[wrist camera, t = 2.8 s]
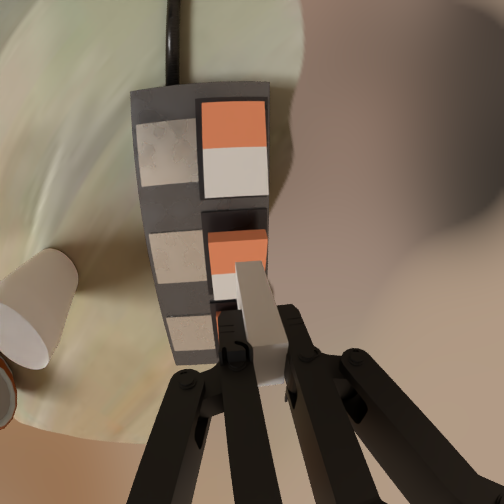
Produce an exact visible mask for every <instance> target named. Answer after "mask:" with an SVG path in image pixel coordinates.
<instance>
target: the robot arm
mask: <svg viewBox="0 0 504 504" xmlns="http://www.w3.org/2000/svg"><path fill="white" fill-rule="evenodd" d="M235 271H236V294H237V305H238V310H229V311H221V313H220V314H219V316H218V335H219V351H218V354H219V361H218V363H217V364H216V366H214V367H213V368H212V369H209V370H207V371H204V372H201V373H199V372H198V371H196V370H193V369H184V370H180V371H178V372H177V373H175V374H174V375H173V376H172V378H171V380H170V382H169V385H168V388H167V390H166V393H165V396H164V398H163V401H162V404H161V406H160V409H159V412H158V414H157V417H156V420H155V423H154V425H153V428H152V431H151V434H150V436H149V439H148V442H147V445H146V448H145V451H144V454H143V456H142V459H141V462H140V465H139V468H138V471H137V473H136V476H135V479H134V482H133V485H132V488H131V491H130V494H129V497H128V500H127V503H126V504H191V503H192V498H193V494H194V490H195V485H196V482H197V477H198V473H199V469H200V464H201V460H202V456H203V451H204V447H205V443H206V438H207V435H208V430H209V426H210V421H211V417H212V416H214V415H217V414H220V413H223V412H224V416H225V426H226V436H227V445H228V454H229V463H230V471H231V479H232V486H233V494H234V501H235V504H282V500H281V495H280V491H279V486H278V482H277V477H276V472H275V468H274V463H273V458H272V453H271V449H270V444H269V439H268V434H267V429H266V425H265V419H264V415H263V410H262V404H261V399H260V394H259V389H258V387H260V386H267V385H276V384H283V383H284V377H285V381H286V384H287V386H286V393H285V402H287V400H288V402H289V405H290V409H291V413H292V417H293V420H294V424H295V428H296V432H297V435H298V439H299V443H300V447H301V450H302V454H303V458H304V461H305V465H306V469H307V473H308V476H309V480H310V484H311V487H312V491H313V495H314V499H315V502H316V504H387V503H385V502H383V501H382V500H381V499H380V497H379V494H378V492H377V489H376V486H375V484H374V481H373V478H372V476H371V473H370V471H369V468H368V466H367V463H366V460H365V458H364V455H363V453H362V450H361V447H360V445H359V442H358V440H357V437H356V435H355V432H356V434H357V435H358V436H359V438H360V439H361V440H362V442H363V443H364V444H365V446H366V447H367V448H368V450H369V451H370V452H371V454H372V455H373V456H374V458H375V459H376V460H377V462H378V463H379V464H380V466H381V467H382V468H383V469H384V471H385V472H386V473H387V475H388V476H389V477H390V479H391V480H392V481H393V482H394V484H395V485H396V486H397V488H398V489H399V490H400V491H401V493H402V494H403V495H404V497H405V498H406V499H407V500H408V501H409V503H410V504H504V486H502V485H500V484H498V483H495V482H493V481H491V480H489V479H486V478H484V477H482V476H480V475H478V474H477V473H476V472H475V471H474V469H473V468H472V467H471V466H470V465H469V464H468V463H467V461H466V460H465V459H464V458H463V457H462V456H461V455H460V454H459V453H458V451H457V450H456V449H455V448H454V447H453V446H452V445H451V443H449V441H448V440H447V439H446V438H445V437H444V436H443V435H442V434H441V433H440V431H439V430H438V429H437V428H436V427H435V426H434V425H433V423H432V422H431V421H430V420H429V419H428V418H427V417H426V416H425V415H424V414H423V413H422V411H421V410H420V409H419V408H418V407H417V406H416V405H415V404H414V403H413V402H412V400H410V398H409V397H408V396H407V395H406V394H405V393H404V392H403V391H402V390H401V388H400V387H399V386H398V385H397V384H396V383H395V382H394V381H393V380H392V379H391V378H390V377H389V376H388V374H387V373H386V372H385V371H384V370H383V369H382V368H381V367H380V366H379V365H378V364H377V363H376V362H375V360H373V358H372V357H371V356H370V355H369V354H368V353H367V352H365V351H364V350H361V349H358V348H352V349H348V350H346V351H345V352H343V354H342V356H337V355H327V354H324V353H321V351H320V350H319V349H318V348H316V347H315V346H314V345H313V343H312V341H311V338H310V336H309V334H308V331H307V329H306V326H305V324H304V322H303V319H302V317H301V314H300V312H299V310H298V309H297V308H296V307H295V306H294V305H292V304H287V305H278V306H276V303H275V300H274V297H273V294H272V291H271V288H270V285H269V282H268V279H267V276H266V273H265V270H264V267H263V264H262V261H247V262H235ZM354 431H355V432H354Z"/></svg>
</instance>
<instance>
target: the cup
mask: <svg viewBox="0 0 504 504" xmlns="http://www.w3.org/2000/svg"><path fill="white" fill-rule="evenodd" d="M77 286H78V273H77V270H76V268H75V266H74V264H73V262H72V261H71V260H70V259H69V258H68V257H67V256H66V255H65V254H64V253H62V252H60V251H58V250H56V249H51V248H48V249H44V250H42V251H41V252H39V253H38V254H36V255H35V256H33V257H32V258H31V259H29V260H28V261H27V262H25V263H24V264H22V265H21V266H20V267H18V268H17V269H16V270H14V271H13V272H12V273H10V274H9V275H8V276H7V277H5V278H4V279H3V280H2V281H0V351H1V352H2V353H3V354H4V355H5V356H6V357H8V358H9V359H10V360H12V361H13V362H15V363H17V364H19V365H21V366H23V367H25V368H29V369H34V370H39V369H43V368H45V367H46V366H47V364H48V362H49V360H50V358H51V356H52V355H53V353H54V351H55V349H56V348H57V346H58V344H59V342H60V339H61V335H62V332H63V328H64V325H65V322H66V318H67V315H68V312H69V309H70V306H71V303H72V300H73V297H74V294H75V291H76V288H77Z"/></svg>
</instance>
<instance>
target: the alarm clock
mask: <svg viewBox="0 0 504 504" xmlns="http://www.w3.org/2000/svg"><path fill="white" fill-rule="evenodd" d="M12 374H13V373H12V371H11V369H10V368H9V366H8V365H7V363H6V361H5V360H4V359H3V358H2V357H1V356H0V430H1V429H4V428H5V427H6V426H7V425H8V424H9V423H10V421H11V420H12V419H13V416H14V413H15V410H16V407H17V390H16V386H15V383H14V379H13V376H12Z"/></svg>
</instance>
